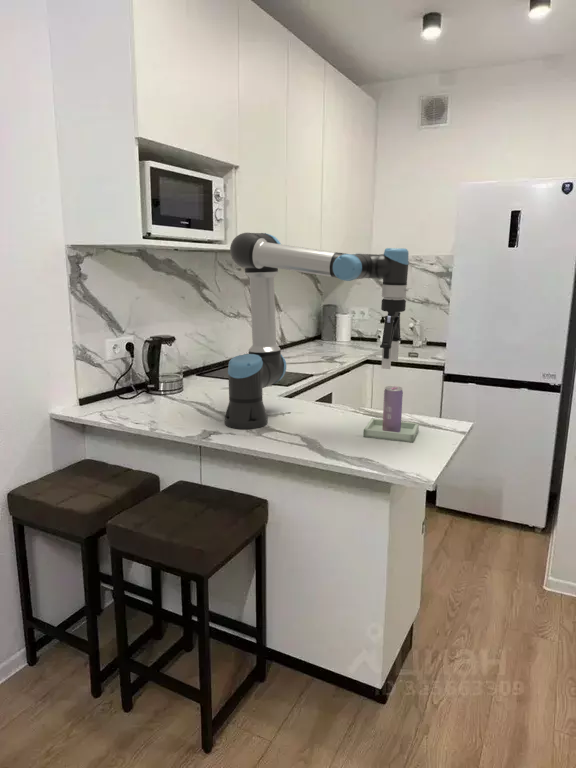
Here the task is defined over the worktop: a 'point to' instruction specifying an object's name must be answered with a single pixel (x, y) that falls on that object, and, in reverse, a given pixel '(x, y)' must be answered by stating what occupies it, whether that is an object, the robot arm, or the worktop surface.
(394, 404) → the beverage can
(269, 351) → the robot arm
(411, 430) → the tray
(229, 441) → the worktop surface
